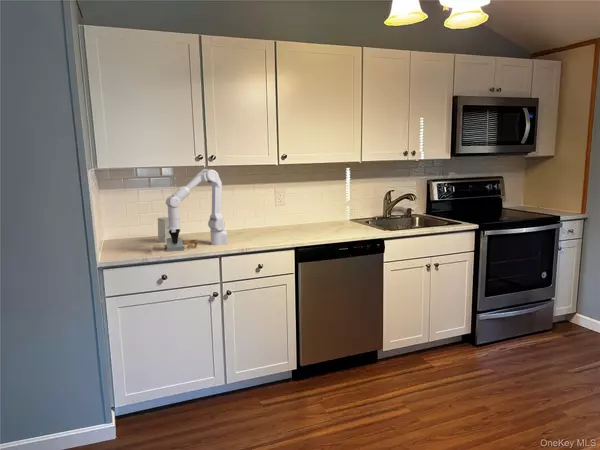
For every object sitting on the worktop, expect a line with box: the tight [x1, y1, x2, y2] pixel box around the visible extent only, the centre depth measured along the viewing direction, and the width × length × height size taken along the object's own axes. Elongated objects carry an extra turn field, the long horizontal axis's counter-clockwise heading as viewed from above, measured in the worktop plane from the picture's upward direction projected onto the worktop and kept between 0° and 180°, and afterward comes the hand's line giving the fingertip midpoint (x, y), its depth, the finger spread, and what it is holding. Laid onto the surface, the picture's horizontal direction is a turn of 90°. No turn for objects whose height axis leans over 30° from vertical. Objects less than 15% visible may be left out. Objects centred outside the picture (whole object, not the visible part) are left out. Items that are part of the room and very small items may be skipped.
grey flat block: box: [166, 236, 184, 248], centre depth 245 cm, size 2×8×7 cm, turn 101°
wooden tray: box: [164, 239, 198, 251], centre depth 255 cm, size 17×12×4 cm
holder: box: [166, 245, 186, 253], centre depth 246 cm, size 9×4×3 cm, turn 101°
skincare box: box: [157, 216, 171, 243], centre depth 271 cm, size 8×6×15 cm
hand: (175, 243), depth 245 cm, fingers closed on grey flat block, 2 cm apart
